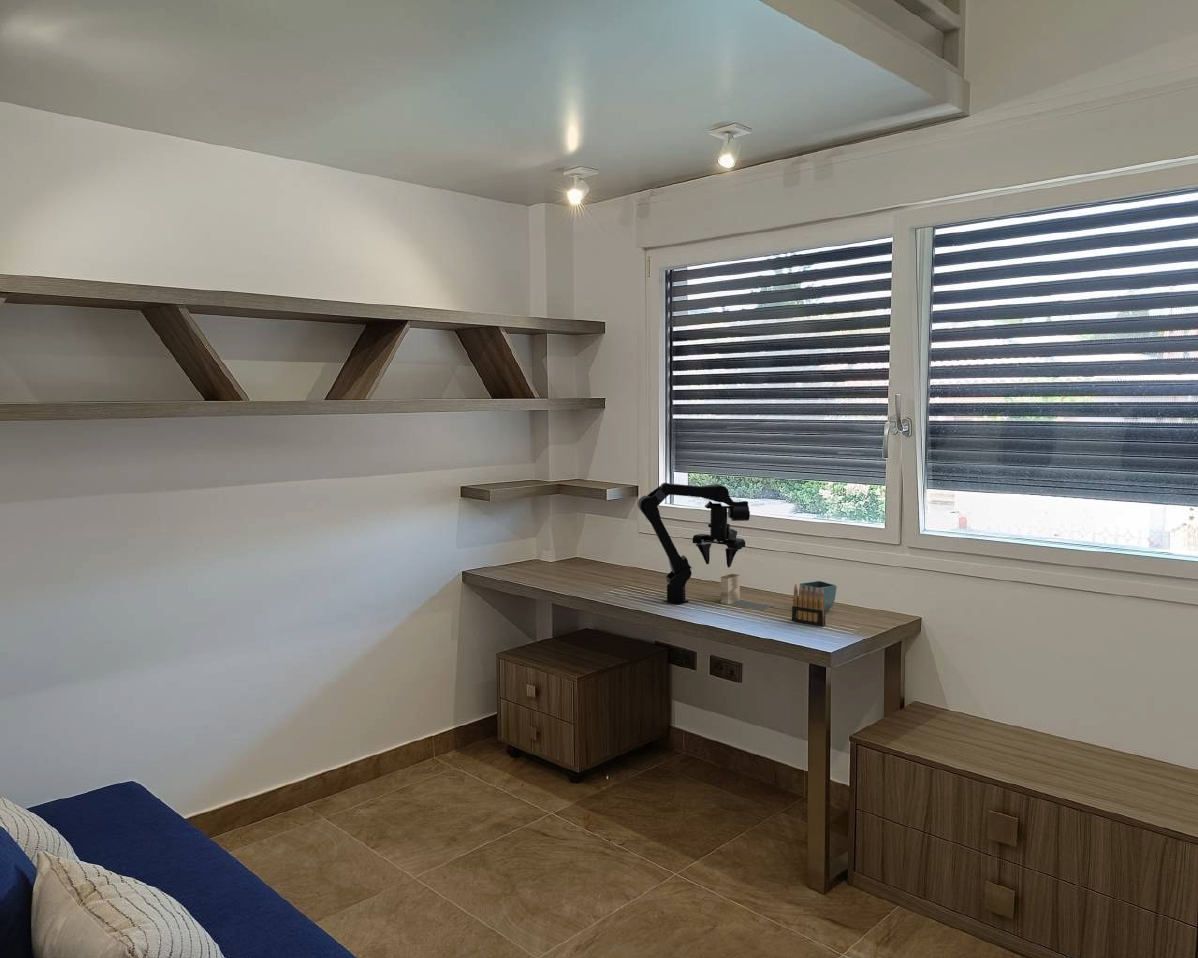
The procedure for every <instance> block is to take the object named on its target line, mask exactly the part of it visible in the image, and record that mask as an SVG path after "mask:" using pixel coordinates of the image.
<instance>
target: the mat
mask: <svg viewBox="0 0 1198 958" xmlns="http://www.w3.org/2000/svg"><path fill="white" fill-rule="evenodd" d="M715 603H717V604H721V605H726V604H725V603H721V600H719V601H717V602H715ZM727 605H728V606H730V605H731V606H734V607H740V608H746V609H753V610H759V611H763V610H767V609H769V608H772V607H774V605H771V604H766V603H759V602H753V601H747V600H743V599H742V600H741V599H740V601H736V602H733V603H730V604H727Z"/></svg>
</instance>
